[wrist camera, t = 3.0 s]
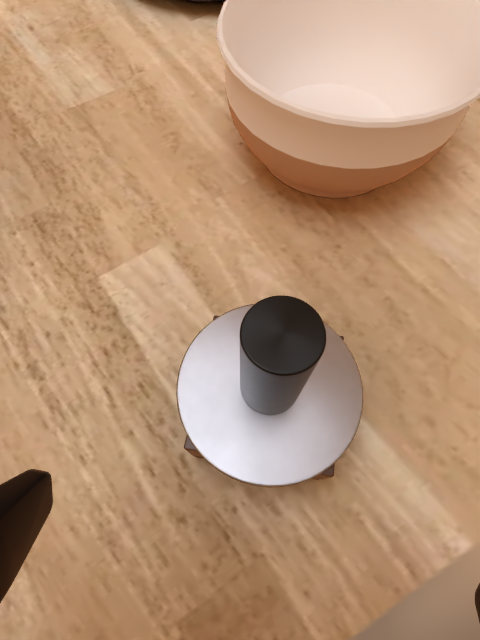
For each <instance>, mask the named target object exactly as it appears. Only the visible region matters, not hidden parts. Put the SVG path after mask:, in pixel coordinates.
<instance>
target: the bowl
mask: <svg viewBox="0 0 480 640" xmlns="http://www.w3.org/2000/svg"><path fill="white" fill-rule="evenodd" d="M216 39H217V42H218V46H219V49H220V52H221V55H222V58H223V60H224V62H225V90H226V94H227V98H228V103H229V109H230V112H231V115H232V119H233V122H234V124H235V126H236V128H237V129H238V131H239V133H240V134H241V136H242V138H243V139H244V141H245V142H246V144H247V146H248V147H249V149H250V150H251V151H252V152H253V153H254V154H255V156H256V157H257V158H258V159H259V160H260V161H261V162H262V163H264V164H265V166H266V167H267V169H268V170H269V171H270V172H271V173H272V174H273V175H274V176H275V177H276V178H278V179H279V180H281V181H282V182H283V183H285V184H286V185H288V186H290V187H292V188H294V189H296V190H298V191H301V192H304V193H308V194H311V195H314V196H321V197H328V198H344V197H350V196H356V195H361V194H363V193H366V192H369V191H372V190H374V189H376V188H377V187H380V186H383V185H386V184H389V183H392V182H395V181H397V180H399V179H400V178H402V177H404V176H405V175H407V174H409V173H410V172H412V171H414V170H415V169H417V168H419V167H420V166H422V165H424V164H425V163H427V162H428V161H429V160H430V159H431V158H432V157H433V156H435V155H436V154H437V153H438V152H439V151H440V150H441V149H442V147H443V146H444V145H445V144H446V142H447V141H448V140H449V139H450V137H451V136H452V135H453V134H454V133H455V132H456V131H457V129H458V127H459V126H460V124H461V122H462V121H463V119H464V117H465V115H466V113H467V111H468V109H469V107H470V105H471V104H473V103H474V102H475V101H476V100H477V99H479V98H480V0H226V1H225V2H224V4H223V7H222V9H221V12H220V15H219V18H218V21H217V37H216Z"/></svg>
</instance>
